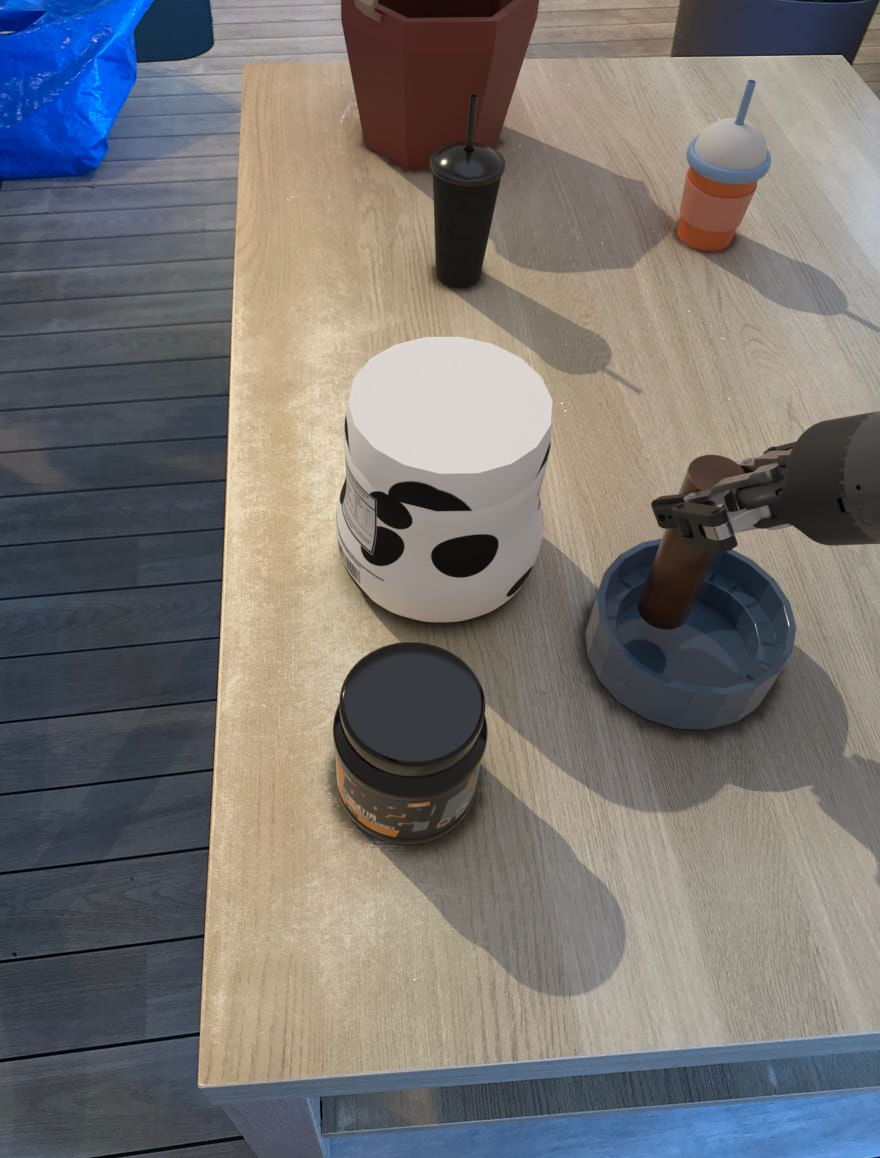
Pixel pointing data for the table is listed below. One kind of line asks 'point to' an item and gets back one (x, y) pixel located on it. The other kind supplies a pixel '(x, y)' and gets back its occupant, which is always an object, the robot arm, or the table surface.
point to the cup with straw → (722, 179)
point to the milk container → (443, 477)
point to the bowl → (691, 642)
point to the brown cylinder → (682, 554)
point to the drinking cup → (464, 205)
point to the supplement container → (409, 742)
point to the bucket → (433, 70)
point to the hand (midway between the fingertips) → (681, 499)
